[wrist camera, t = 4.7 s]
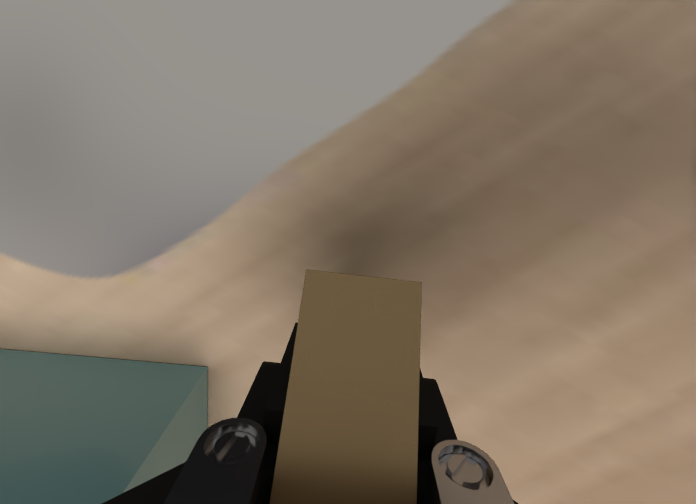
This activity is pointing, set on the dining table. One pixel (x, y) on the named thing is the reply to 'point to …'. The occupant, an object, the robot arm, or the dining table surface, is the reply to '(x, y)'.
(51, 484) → the coin box
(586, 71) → the dining table surface
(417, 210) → the dining table surface
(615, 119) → the dining table surface
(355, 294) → the tan flat block
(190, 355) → the dining table surface
